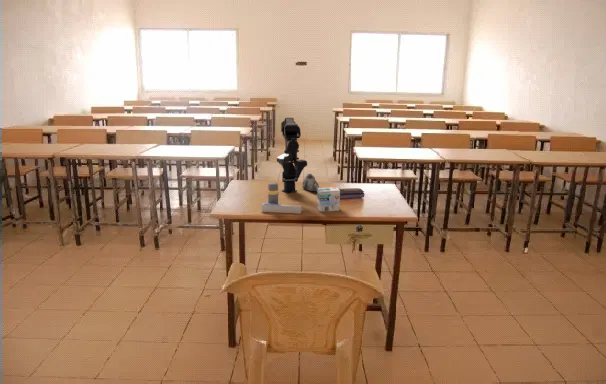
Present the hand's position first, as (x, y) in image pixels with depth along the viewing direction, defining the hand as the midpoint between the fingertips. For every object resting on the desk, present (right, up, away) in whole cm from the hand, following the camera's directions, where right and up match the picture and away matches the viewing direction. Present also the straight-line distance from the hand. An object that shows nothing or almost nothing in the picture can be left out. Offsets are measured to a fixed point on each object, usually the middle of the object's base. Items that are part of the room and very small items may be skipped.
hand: (291, 176), depth 244 cm
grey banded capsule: (-9, -16, -10) cm, 21 cm away
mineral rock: (+11, -8, +22) cm, 26 cm away
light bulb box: (+19, -17, -11) cm, 28 cm away
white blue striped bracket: (-5, -18, -15) cm, 23 cm away
